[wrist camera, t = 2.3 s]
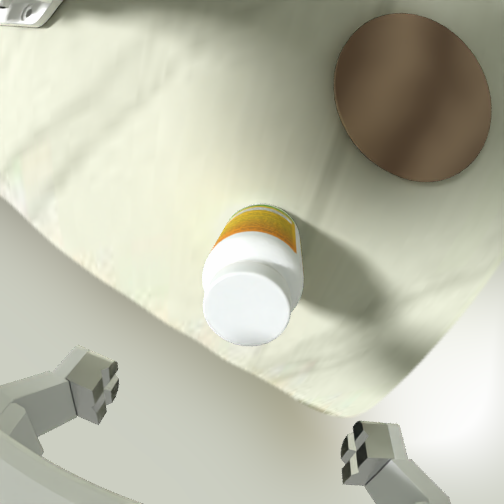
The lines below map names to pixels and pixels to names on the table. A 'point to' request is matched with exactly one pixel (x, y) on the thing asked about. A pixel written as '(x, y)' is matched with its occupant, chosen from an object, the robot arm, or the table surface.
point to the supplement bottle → (253, 276)
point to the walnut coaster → (412, 97)
